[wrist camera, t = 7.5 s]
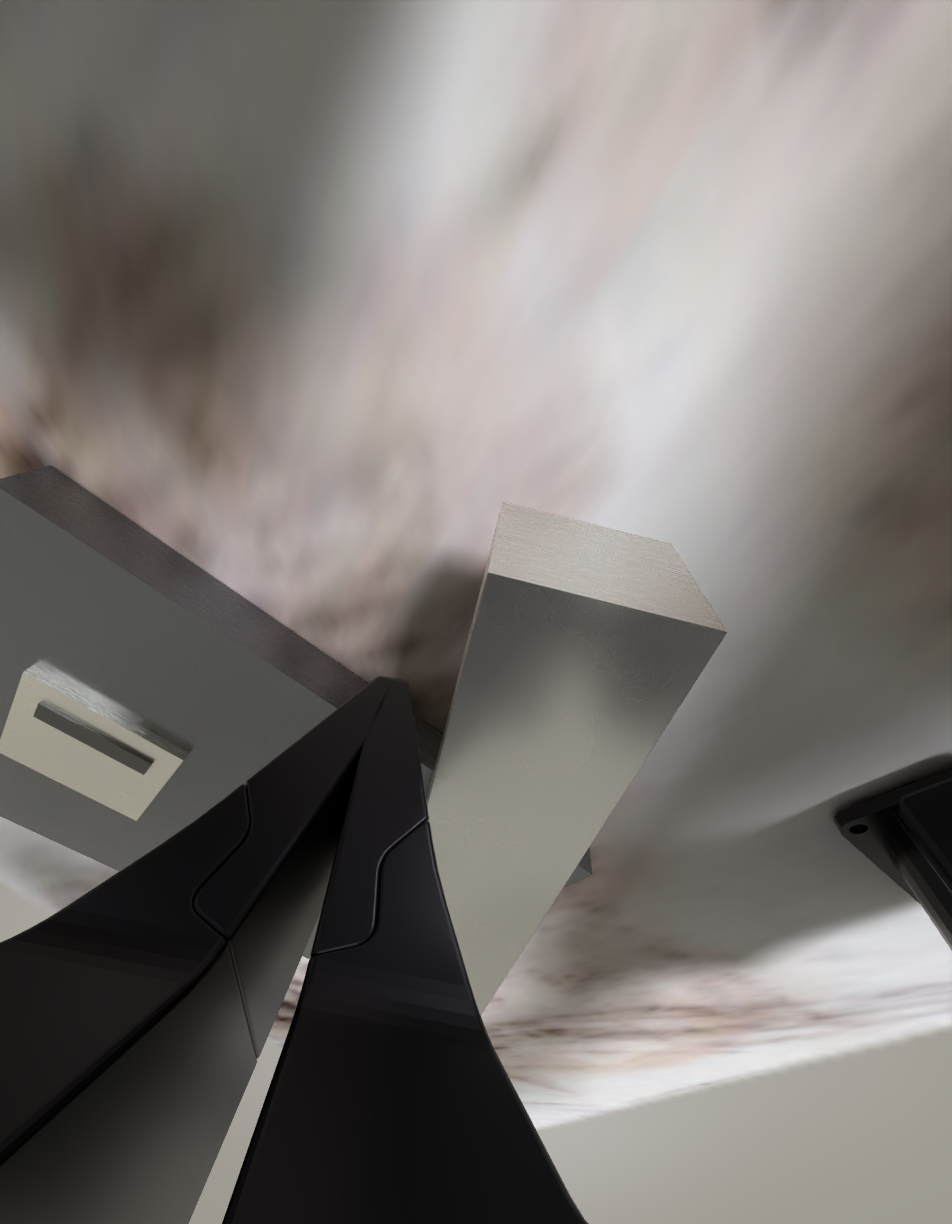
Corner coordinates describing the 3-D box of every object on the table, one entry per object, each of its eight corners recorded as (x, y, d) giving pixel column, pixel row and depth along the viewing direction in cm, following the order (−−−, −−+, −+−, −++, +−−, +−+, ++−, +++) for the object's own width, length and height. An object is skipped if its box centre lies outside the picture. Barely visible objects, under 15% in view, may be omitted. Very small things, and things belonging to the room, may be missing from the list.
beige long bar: (455, 987, 19) (443, 1081, 16) (380, 969, 19) (358, 1061, 16) (677, 545, 8) (738, 638, 5) (497, 500, 8) (478, 574, 5)
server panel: (598, 841, 17) (607, 913, 15) (370, 949, 24) (354, 1007, 22) (50, 465, 11) (-61, 495, 9) (-31, 752, 19) (-102, 805, 17)
